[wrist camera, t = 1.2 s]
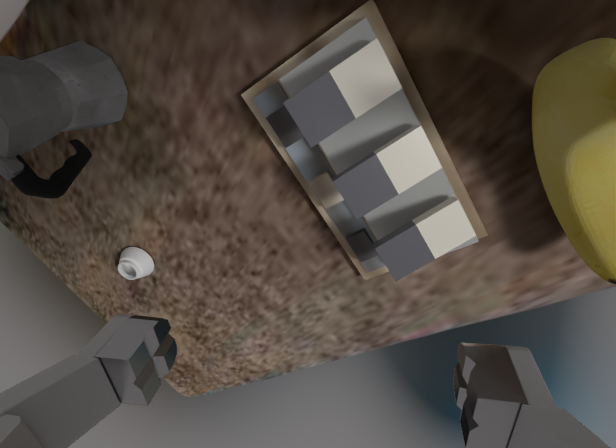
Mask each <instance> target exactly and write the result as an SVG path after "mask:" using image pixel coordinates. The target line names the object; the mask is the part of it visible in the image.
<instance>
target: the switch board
mask: <svg viewBox="0 0 616 448" xmlns="http://www.w3.org/2000/svg"><path fill="white" fill-rule="evenodd" d="M365 17H368V19H369V21H370V23H371V25H372V27H373V29H374V31H375V33H376V35H377V37H378V39H379V41H380V43H381V45H382V47H383V49H384V51H385V53H386V55H387V57H388V59H389V61H390V63H391V65H392V67H393V69H394V71H395V73H396V75H397V77H398V79H399V81H400V83H401V85H402V87H403V89H404V91H405V93H406V95H407V97H408V99H409V101H410V103H411V105H412V107H413V109H414V111H415V113H416V115H417V117H418V119H419V121H420V123H421V125H422V127H423V129H424V131H425V133H426V135H427V137H428V139H429V141H430V143H431V145H432V147H433V149H434V151H435V153H436V155H437V157H438V159H439V161H440V163H441V165H442V167H443V169H444V171H445V173H446V175H447V177H448V179H449V181H450V183H451V185H452V187H453V189H454V191H455V193H456V195H457V197H458V199H459V201H460V203H461V205H462V207H463V209H464V211H465V213H466V215H467V217H468V219H469V221H470V223H471V225H472V227H473V229H474V231H475V233H476V236H477V239H479V238H482V237H485V236H488V234H487V232H486V230H485V228H484V226H483V224H482V222H481V220H480V217H479V215H478V213H477V211H476V209H475V207H474V205H473V203H472V201H471V199H470V197H469V195H468V193H467V191H466V189H465V187H464V185H463V183H462V181H461V178H460V176H459V174H458V172H457V170H456V168H455V166H454V164H453V162H452V160H451V158H450V156H449V154H448V152H447V150H446V148H445V146H444V144H443V142H442V139H441V137H440V135H439V133H438V131H437V129H436V127H435V125H434V123H433V121H432V119H431V117H430V115H429V113H428V111H427V109H426V107H425V105H424V103H423V100H422V98H421V96H420V94H419V92H418V90H417V88H416V86H415V84H414V82H413V80H412V78H411V76H410V74H409V72H408V70H407V68H406V66H405V64H404V61H403V59H402V57H401V55H400V53H399V51H398V49H397V47H396V45H395V43H394V41H393V39H392V37H391V35H390V33H389V31H388V29H387V27H386V25H385V22H384V20H383V18H382V16H381V14H380V12H379V10H378V8H377V6H376V4H375V2H374V0H369V1H368V2H366V3H365V4H364V5H362V6H361V7H360V8H358V9H357V10H355V11H354V12H353V13H351V14H350V15H349V16H347V17H346V18H345V19H343V20H342V21H340V22H339V23H338V24H336V25H335V26H334V27H332V28H331V29H330V30H328V31H327V32H326V33H324V34H323V35H321V36H320V37H319V38H317V39H316V40H315V41H313V42H312V43H311V44H309V45H308V46H307V47H305V48H304V49H302V50H301V51H300V52H298V53H297V54H296V55H294V56H293V57H292V58H290V59H289V60H287V61H286V62H285V63H283V64H282V65H281V66H279V67H278V68H277V69H275V70H274V71H273V72H271V73H270V74H268V75H267V76H266V77H264V78H263V79H262V80H260V81H259V82H258V83H256V84H255V85H253V86H252V87H251V88H249V89H248V90H247V91H245V92H244V93H243V94H241V96H242V97H243V99H244V100H245V102H246V103H247V105H248V106H249V108H250V109H251V111H252V112H253V114H254V115H255V117H256V118H257V120H258V121H259V123H260V124H261V126H262V127H263V129H264V130H265V132H266V133H267V135H268V136H269V138H270V139H271V141H272V142H273V144H274V145H275V147H276V148H277V150H278V151H279V153H280V154H281V156H282V157H283V159H284V160H285V162H286V163H287V165H288V166H289V168H290V169H291V171H292V172H293V174H294V175H295V177H296V178H297V180H298V181H299V183H300V184H301V186H302V187H303V189H304V190H305V192H306V193H307V195H308V196H309V198H310V199H311V201H312V202H313V204H314V205H315V207H316V208H317V210H318V211H319V213H320V214H321V216H322V217H323V219H324V220H325V222H326V223H327V224H328V226H329V227H330V229H331V230H332V232H333V233H334V235H335V236H336V238H337V239H338V241H339V242H340V244H341V245H342V247H343V248H344V250H345V251H346V253H347V254H348V256H349V257H350V259H351V260H352V262H353V263H354V265H355V266H356V268H357V269H358V271H359V272H360V274H361V275H362V277H363V278H364V280H367V279H369V278H372V277H375V276H378V275H380V274H383V273H386V272H389V270H388V268H387V267H386V265H385V264H384V262H383V261H382V259H381V257H380V256H379V254H378V253H377V251H376V249H375V248H374V246H373V243H374V242H376V241H378V240H379V239H378V238H377V236H376V234H375V233H374V231H373V229H372V228H371V226H370V225H369V223H368V221H367V220H366V218H365V217H364V216H362V217H361V218H359V219H356V218H355V216H354V215H353V213H352V211H351V210H350V208H349V207H348V205H347V203H346V202H345V200H344V199H343V197H342V196H341V194H340V192H339V191H338V189H337V188H336V186H335V184H334V183H333V181H332V179H331V178H333V177H334V176H336V175H338V173H337V171H336V170H335V168H334V167H333V165H332V163H331V162H330V160H329V158H328V157H327V155H326V154H325V152H324V150H323V149H322V147H321V146H320V144H319V143H318V144H316V145H315V146H313V147H312V148H311V146H310V145H309V143H308V142H307V140H306V139H305V137H304V135H303V134H302V132H301V131H300V129H299V127H298V126H297V124H296V123H295V121H294V119H293V118H292V116H291V115H290V113H289V112H288V110H287V108H286V107H285V105H284V104H283V102H284V101H286V100H287V99H289V98H290V96H289V94H288V92H287V91H286V89H285V87H284V86H283V84H282V83H281V81H280V78H282V77H283V76H285V75H286V74H287V73H289V72H290V71H291V70H293V69H294V68H296V67H297V66H298V65H300V64H301V63H303V62H304V61H305V60H307V59H308V58H310V57H311V56H312V55H314V54H315V53H317V52H318V51H319V50H321V49H322V48H324V47H325V46H326V45H328V44H329V43H331V42H332V41H333V40H335V39H336V38H338V37H339V36H340V35H342V34H343V33H345V32H346V31H347V30H349V29H350V28H352V27H353V26H354V25H356V24H357V23H359V22H360V21H361V20H363V19H364V18H365Z"/></svg>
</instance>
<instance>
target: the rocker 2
mask: <svg viewBox="0 0 616 448" xmlns="http://www.w3.org/2000/svg"><path fill="white" fill-rule="evenodd" d="M441 168H442V166H441V164H440V162H439V160H438V158H437V156H436V154H435V152H434V150H433V148H432V146H431V144H430V142H429V140H428V138H427V136H426V134H425V132H424V130H423V128H422V126H421V125H417V124H416V125H415V126H413V127H412V128H410V129H408V130H407V131H405V132H404V133H402V134H400V135H399V136H397V137H396V138H394V139H393V140H391V141H389V142H388V143H386V144H385V145H383V146H382V147H380V148H378V149H377V150H375V151H374V152H372V153H371V154H369V155H367V156H366V157H364V158H363V159H361V160H360V161H358V162H356V163H355V164H353V165H352V166H350V167H349V168H347V169H345V170H344V171H342V172H341V173H339V174H338V175H336V176H334V177H333V178H331V179H332V181H333V183H334V184H335V186H336V188H337V189H338V191H339V192H340V194H341V196H342V197H343V199H344V200H345V202H346V203H347V205H348V207H349V208H350V210H351V211H352V213H353V215H354V216H355V218H356V219H359V218H361V217H362V216H364V215H366V214H367V213H369V212H370V211H372V210H374V209H375V208H377V207H379V206H380V205H382V204H384V203H385V202H387V201H389V200H390V199H392V198H393V197H395V196H397V195H398V194H400V193H402V192H403V191H405V190H407V189H408V188H410V187H412V186H413V185H415V184H416V183H418V182H420V181H421V180H423V179H425V178H426V177H428V176H430V175H431V174H433V173H435V172H436V171H438V170H439V169H441Z"/></svg>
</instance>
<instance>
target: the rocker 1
mask: <svg viewBox="0 0 616 448" xmlns="http://www.w3.org/2000/svg"><path fill="white" fill-rule="evenodd" d="M400 89H402V86H401V84H400V82H399V80H398V78H397V76H396V74H395V72H394V70H393V68H392V66H391V64H390V62H389V60H388V58H387V56H386V54H385V52H384V50H383V48H382V46H381V44H380V42H379V40H378V38H376V39H375V40H373V41H372V42H370V43H369V44H367V45H366V46H364V47H363V48H361V49H360V50H359V51H357V52H356V53H354V54H353V55H351V56H350V57H348V58H347V59H345V60H344V61H343V62H341V63H340V64H338V65H337V66H335V67H334V68H332V69H331V70H329V71H328V72H327V73H325V74H324V75H322V76H321V77H319V78H318V79H316V80H315V81H313V82H312V83H310V84H309V85H308V86H306V87H305V88H303V89H302V90H300V91H299V92H297V93H296V94H294V95H293V96H292V97H290V98H289V99H287V100H286V101H284V102H283V104H284V105H285V107H286V108H287V110H288V112H289V113H290V115H291V116H292V118H293V119H294V121H295V123H296V124H297V126H298V127H299V129H300V131H301V132H302V134H303V135H304V137H305V139H306V140H307V142H308V143H309V145H310V146H311V148H312V147H313V146H315V145H316V144H318V143H319V142H321V141H322V140H324V139H325V138H327V137H329V136H330V135H332V134H333V133H335V132H336V131H338V130H339V129H341V128H342V127H344V126H345V125H347V124H348V123H350V122H351V121H353V120H354V119H356V118H358V117H359V116H361V115H362V114H364V113H365V112H367V111H368V110H370V109H371V108H373V107H374V106H376V105H377V104H379V103H380V102H382V101H383V100H385V99H386V98H388V97H390V96H391V95H393V94H394V93H396V92H397V91H399V90H400Z"/></svg>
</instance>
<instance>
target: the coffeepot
mask: <svg viewBox="0 0 616 448" xmlns="http://www.w3.org/2000/svg"><path fill="white" fill-rule="evenodd" d="M127 96H128V91H127V88H126V85H125V82H124V79H123V77H122V75H121V73H120V71H119V69H118V68H117V66H116V65H115V64H114V62H113V60H112V58H110V57H109V56H107V55H106V54H105V53H103V52H102V51H100V50H99V49H97V48H95V47H93V46H91V45H89V44H87V43H85V42H84V41H82V40H80V41H78V42H75V43H72V44H69V45H66V46H63V47H60V48H57V49H54V50H51V51H48V52H45V53H42V54H39V55H36V56H33V57H30V58H28V59H25V60H19V59H17V58H15V57H13V56H1V55H0V175H1V176H2V177H3V178H4V179H6V180H7V181H11V182H13V183H14V184H15V185H16V187H17V188H18V189H19V190H20V191H21V192H22V193H24V194H26V195H31V196H37V197H43V198H58V197H60V196H62V195H63V194H64V193H65V192H66V191H67V190H68V188H69V187H70V185H71V184H72V182H73V181H74V179H75V178H76V177H77V176H78V174H79V173H80V171H81V170H82V169H83V167H84V166H85V165H86V164H87V162H88V161H89V159H90V158H91V157H92V154H91V152H90V150H89V149H88V148H87V147H86V146H85V145H84V144H83V143H82V142H80V141H79V140H76V139H74V140H71V141H70V143H71V144H72V145H73V147H74V148H75V149H76V152H77V153H76V154H75V155H73V156H71V157H69V158H68V159H67V160H66V161H65V163H64V165H63V167H61V168H60V169H58V170H57V171H55V172H54V173H53V174H52V175H51V176H50V178H49V180H46V179H42V178H40V177H38V176H37V175H36V174H35V173H34V171H33V170H32V169H31V168H30V166H29V165H28V164H27V163H26V162H25V161H24V159H23V158H22V157H21V156H22V155H24V154H25V153H27V152H29V151H30V150H32V149H34V148H36V147H37V146H39V145H41V144H42V143H44V142H46V141H48V140H49V139H51V138H53V137H54V136H56V135H58V134H59V132H65V131H73V130H80V129H87V128H95V127H100V126H104V125H107V124H111V123H114V122H118V121H121V120H122V118H123V115H124V112H125V109H126V107H127V100H128V99H127Z"/></svg>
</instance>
